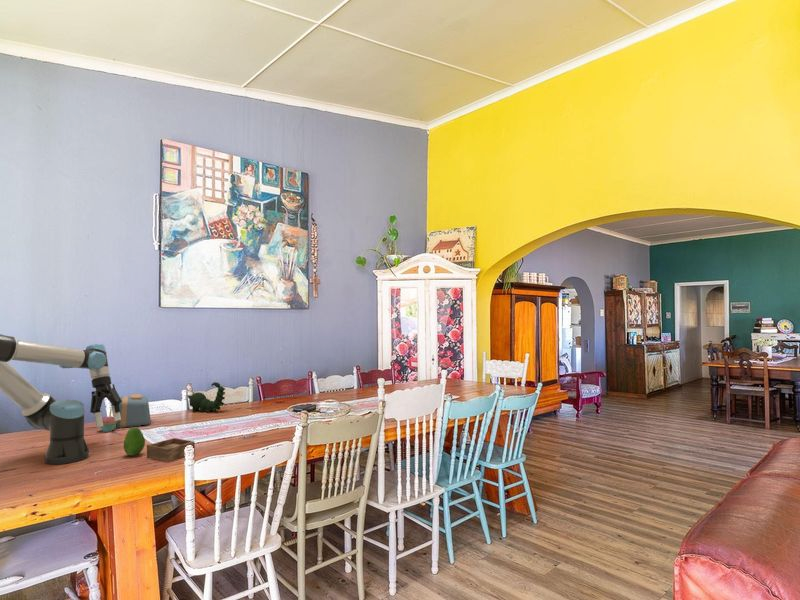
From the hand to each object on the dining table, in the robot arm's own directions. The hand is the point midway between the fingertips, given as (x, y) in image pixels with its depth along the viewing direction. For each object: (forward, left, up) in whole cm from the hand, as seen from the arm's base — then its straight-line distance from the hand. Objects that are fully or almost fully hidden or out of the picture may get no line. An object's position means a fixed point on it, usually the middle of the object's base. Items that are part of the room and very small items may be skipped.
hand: (108, 423), depth 223 cm
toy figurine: (+71, +22, -10) cm, 75 cm away
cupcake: (+16, +28, -10) cm, 34 cm away
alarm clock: (+31, +30, -10) cm, 44 cm away
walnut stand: (+3, -38, -10) cm, 40 cm away
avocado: (-4, -24, -10) cm, 26 cm away
